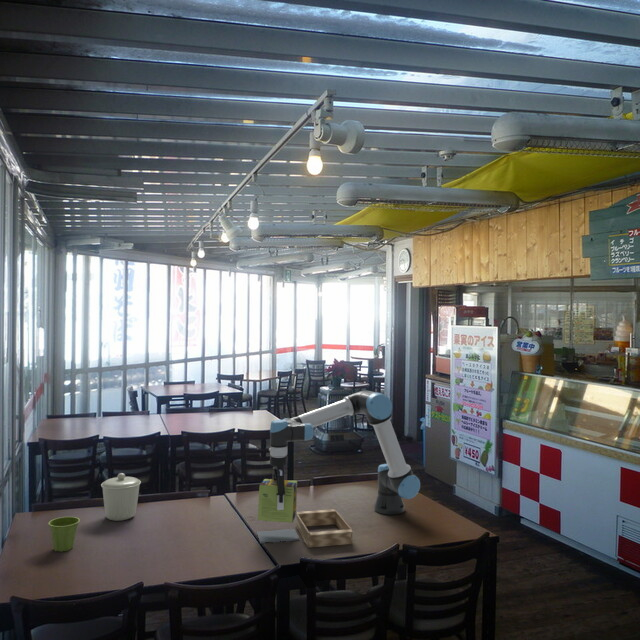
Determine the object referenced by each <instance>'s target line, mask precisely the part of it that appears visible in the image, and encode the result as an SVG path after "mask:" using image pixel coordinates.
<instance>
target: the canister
mask: <svg viewBox="0 0 640 640" xmlns="http://www.w3.org/2000/svg"><path fill="white" fill-rule="evenodd" d="M141 484H142V481H141V480H140V479H138V478H137V477H133V476H126V474H125V473H123V472H119V473H118V474H117V476H115V477H112V478H111V477H110V478H108V479H106V480H104V481H103V482H102V483H101V484H100V486H101V488H102V495H103V497H102V498H103V505H104V513H105V517H106V518H107V519H108V520H110V521H114V522H115V521H118V522H120V521H126V520H129V519H133V517H134V516H135V515H136V512H137V506H138V501H139V500H138V499H139V491H140V485H141Z"/></svg>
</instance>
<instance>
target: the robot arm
mask: <svg viewBox="0 0 640 640" xmlns="http://www.w3.org/2000/svg"><path fill="white" fill-rule="evenodd" d="M392 410H393V404H392V401H391V399H390V398H389V397H388V396H387V395H385V394H384V393H382V392H376V391H372V390H366V389H364V390H360V391H358V392H354V393H352V394H349V395H346V396H344V397H343V398H342V400H338V401H336V402H334V403H331V404H327V405H325V406H322V407H319V408H317V409H314V410H310V411H309V412H305V413H303V414H300V415H298V416H294V417H291V418H290V417H286V418H285V417H284V418H283V419H274V420H272V421H271V422H270V425H269V426H270V428H269V429H270V430H269V436H270V437H269V441H270V443H269V447H270V448H268V451H269V454H270V456H269V464H270V466H271V467H272V473H271V474H272V476H271V479H273V480H277V488H278V493H277V494H276V495H277V510H284V494H285V486H284V480H285V471H284V469H283V467H285V466H287V465H288V456H287V455H288V442H306V441H312V439H313V438H314V434H315V432H314V428H315V427H318V426H321V425H324V424H327V423H329V422H332V421H335V420H337V419H340V418H342V417H346V416H354V415H359V414H360V415H365V417H366V419H367V423H368V425H370V426H372V427H373V429H374V432H375V434H376V437H377V440H378V442H379V445H380V448H381V452H382V453H383V456H384V459H385V462H386V463H382V464H379V465H378V467H377V496H376V499H375V501H374V504H373V506H374V507H373V509H374V511H375V512H376V513H378V514H381V515H388V516H389V515H392V516H393V515H400V514H402V513H404V512H405V504H404V500H403V499H406V500H411V499H413V498H415V497H416V496H417V494H418V493H419V492H420V490H421V481H420V478H419V477H418V475H417V476H416V475H415V474H414V473H413V470H412V468H411V465H410V464H408V463H406V460H405V457H404V454H403V452H402V449H401V446H400V443H399V441H398V439H397V438H398V437H397V434H396V432H395V429H394V427H393V425H392V421H391V419H392V418H393V415H392ZM280 491H282V492H280Z"/></svg>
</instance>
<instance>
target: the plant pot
mask: <svg viewBox="0 0 640 640" xmlns="http://www.w3.org/2000/svg"><path fill="white" fill-rule="evenodd" d="M80 522H81V519H80V518H79V517H76V516H62V517H56V518H53V519H51V520H50V521H49V522H48V526H49V528H50V532H51V540H52V546H53V550H54V551H55V552H61V553H62V552H68V551H70V550H71V549H73V548H74V544H75V538H76V533H77V528H78V526H79V523H80Z"/></svg>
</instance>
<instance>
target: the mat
mask: <svg viewBox="0 0 640 640" xmlns="http://www.w3.org/2000/svg"><path fill="white" fill-rule="evenodd" d="M256 535H258V536H257V538H259V539H258V541H259V543H260V544H266V543H265V542H273V543H283V542H282V541H286V542H293V541H294V542H296V541H297V542H298V541H300V537H299V535H298V533H297V531H296V530H295V528H289V529H288V528H287V529H275V530H264V531H263V530H262V531H256ZM280 541H281V542H280Z"/></svg>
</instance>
